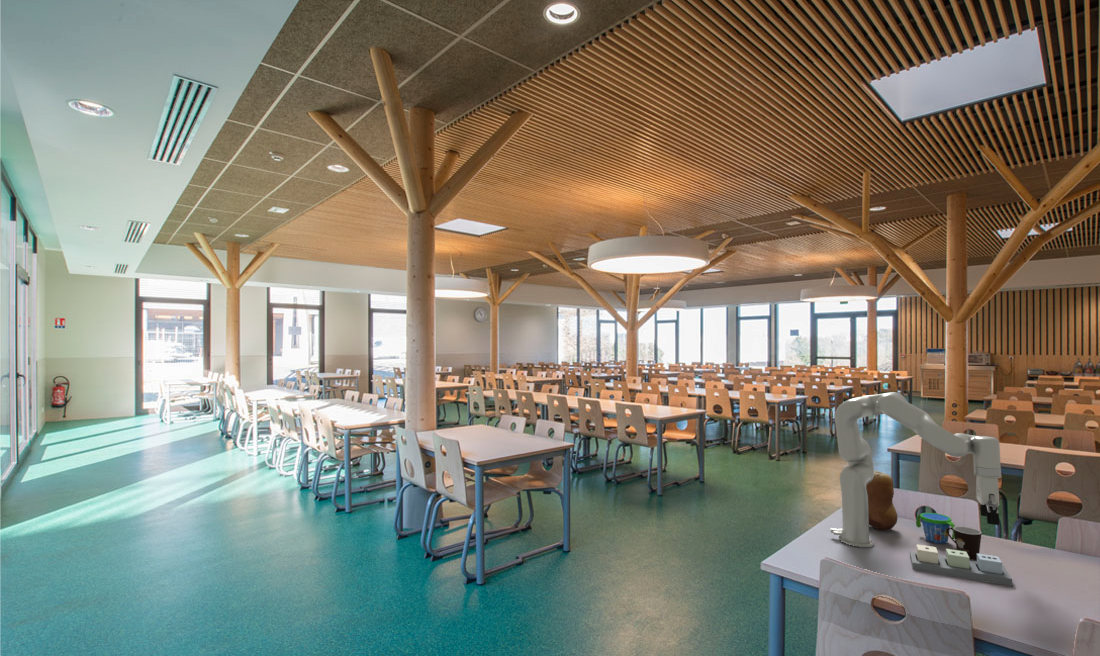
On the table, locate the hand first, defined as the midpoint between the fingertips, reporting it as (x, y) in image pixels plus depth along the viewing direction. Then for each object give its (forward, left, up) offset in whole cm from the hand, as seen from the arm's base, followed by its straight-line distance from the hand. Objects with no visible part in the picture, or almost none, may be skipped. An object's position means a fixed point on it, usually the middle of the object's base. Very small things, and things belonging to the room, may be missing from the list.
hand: (989, 520), depth 188 cm
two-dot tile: (-10, -1, -17) cm, 20 cm away
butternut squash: (-33, +36, -20) cm, 52 cm away
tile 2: (-1, -1, -17) cm, 17 cm away
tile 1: (-19, -1, -17) cm, 25 cm away
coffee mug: (-5, +18, -20) cm, 27 cm away
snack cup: (-13, +30, -20) cm, 38 cm away
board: (-10, -1, -20) cm, 22 cm away
